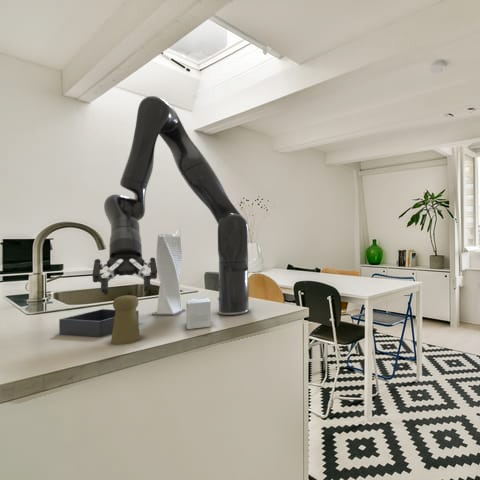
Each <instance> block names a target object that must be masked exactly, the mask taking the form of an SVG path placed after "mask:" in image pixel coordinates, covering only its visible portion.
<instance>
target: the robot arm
mask: <svg viewBox="0 0 480 480" xmlns="http://www.w3.org/2000/svg"><path fill="white" fill-rule="evenodd" d="M158 137H160V138H161V139H162V140H163V141H164V142H165V144H166V146H167V147H168V148H169V150H170V152H171V154H172V158H173V160H174V163H175V165H176V168H177V170H178V172H179V173H180V176H181V177H182V178H183V179H184V181H185V183H186V184H187V185H188V187H189V188H190V189H191V191H192V192H193V193H194V194H195V195H196V196H197V198H198V199H199V200H200V201H201V202H202V203H203V204H204V205H205V206H206V207H207V208H208V210H209V211H210V213H211V214H212V216H213V218H214V219H215V221H216V224H217V254H218V296H217V301H218V312H217V313H218V314H219V315H222V316H237V315H244V314H246V313H248V312H249V294H250V293H249V248H248V247H249V244H248V243H249V241H248V240H249V238H248V237H249V236H248V235H249V230H250V229H249V228H250V226H249V222H248V221H247V219H245V217H244V216H243V215H242V214H241V213H240V212H239V211H238V209H237V208H236V207H235V205H234V204H233V202H232V201H231V200H230V198H229V196H228V195H227V193H226V190H225V189H224V187H223V185H222V183H221V181H220V179H219V177H218V176H217V174H216V172H215V171H214V168H212V166H211V164H210V163H209V162H208V160H207V159H206V157H205V156H204V154H203V153H202V152H201V151H200V149H199V148H198V147H197V146H196V145H195V143H194V141H192V139H191V138H190V136H189V134H188V132H187V131H186V129H185V127H184V125H183V123H182V121H181V119H180V117H179V115H178V114H177V112H176V110H175V109H174V108H173V107H172V106H171V105H170V104H169V103H168V102H167V101H165V99H164V98H161V97H159V96H155V95H151V96H150V95H149V96H146V97H145V98H142V100H140V103H139V105H138V109H137V113H136V122H135V128H134V133H133V138H132V144H131V147H130V151H129V155H128V157H127V160H126V164H125V167H124V169H123V172H122V175H121V178H120V181H119V184H120V187H122V188H123V189H126V190H127V191H129V192H131V193H132V194H133V195H134V198H133V197H132V198H131V197H128V196H124V195H121V194H111V195H109V196H108V197H106V199H105V200H104V204H103V209H104V213H105V217H106V218H107V220H108V222H109V224H110V237H109V245H108V246H109V258H108V259H107V260H105V261H104V260H103V261H102V260H101V259H99V258H95V260H94V262H93V269H92V282H93V283H100V292H101V294H103V293H104V294H103V295H105V296H106V295H108V294H109V282H110V281H111V280H114V279H115V278H116V277H117V276H119V277H120V276H121V277H123V276H133V275H136V276H137V277H138V278H141V279H142V280H143V292H148V290H150V289H151V280H156V279H157V278H158V269H157V260H156V258H155V257H150V259H144V258H143V248H142V238H141V229H140V222H139V221H140V220H142V219H143V218H144V216H145V213H146V193H147V188H148V185H149V183H150V179H151V177H152V174H153V170H154V169H153V168H154V162H155V161H154V160H155V148H156V144H157V140H158ZM144 266H146V267H147V268H148V269H150V272H149V271H148V270H147V269H146V268H145V267H144ZM105 267H107V270H106V271H105V272H104V273H103V274H101V271H103V270H104V269H105Z"/></svg>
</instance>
